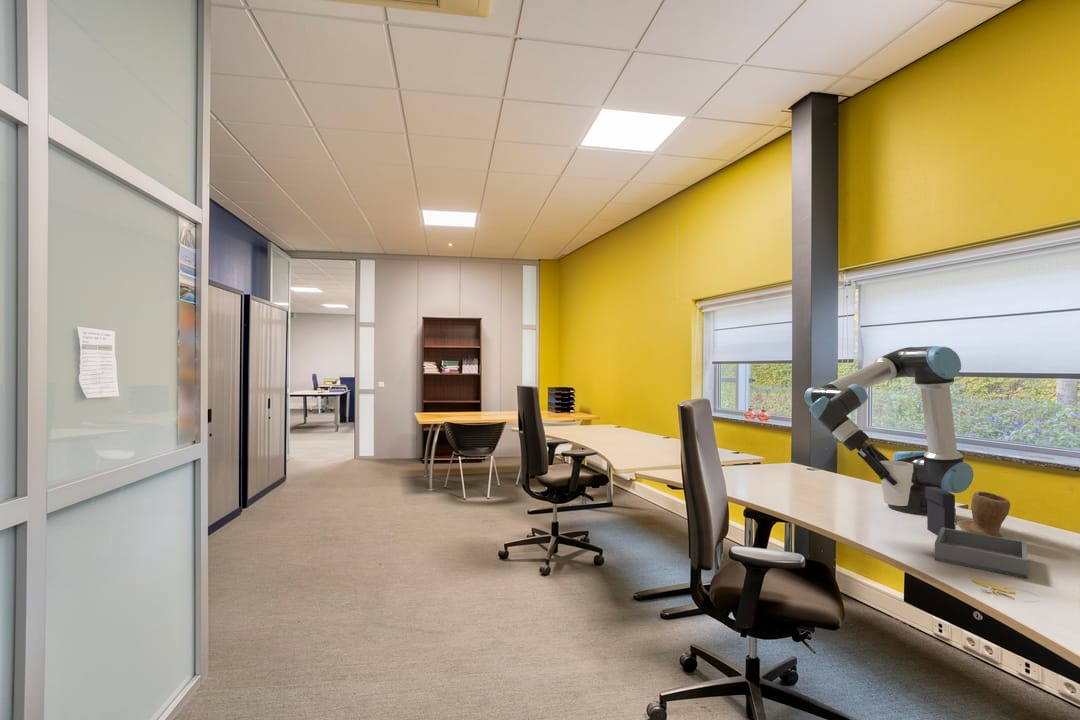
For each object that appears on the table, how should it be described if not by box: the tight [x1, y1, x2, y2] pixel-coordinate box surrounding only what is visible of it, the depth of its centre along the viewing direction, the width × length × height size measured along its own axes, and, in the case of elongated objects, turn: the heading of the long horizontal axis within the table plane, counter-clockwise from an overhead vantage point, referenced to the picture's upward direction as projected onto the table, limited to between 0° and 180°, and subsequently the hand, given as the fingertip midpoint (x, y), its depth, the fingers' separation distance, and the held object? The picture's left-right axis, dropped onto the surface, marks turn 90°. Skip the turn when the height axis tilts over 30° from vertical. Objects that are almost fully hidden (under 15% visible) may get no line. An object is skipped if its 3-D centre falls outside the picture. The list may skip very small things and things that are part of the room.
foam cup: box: [880, 460, 913, 506], centre depth 169 cm, size 10×9×13 cm
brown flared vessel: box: [956, 490, 1011, 538], centre depth 174 cm, size 15×12×15 cm
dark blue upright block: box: [925, 487, 957, 536], centre depth 176 cm, size 11×4×15 cm, turn 168°
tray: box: [934, 527, 1029, 580], centre depth 154 cm, size 20×20×5 cm
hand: (907, 489), depth 167 cm, fingers closed on foam cup, 9 cm apart
